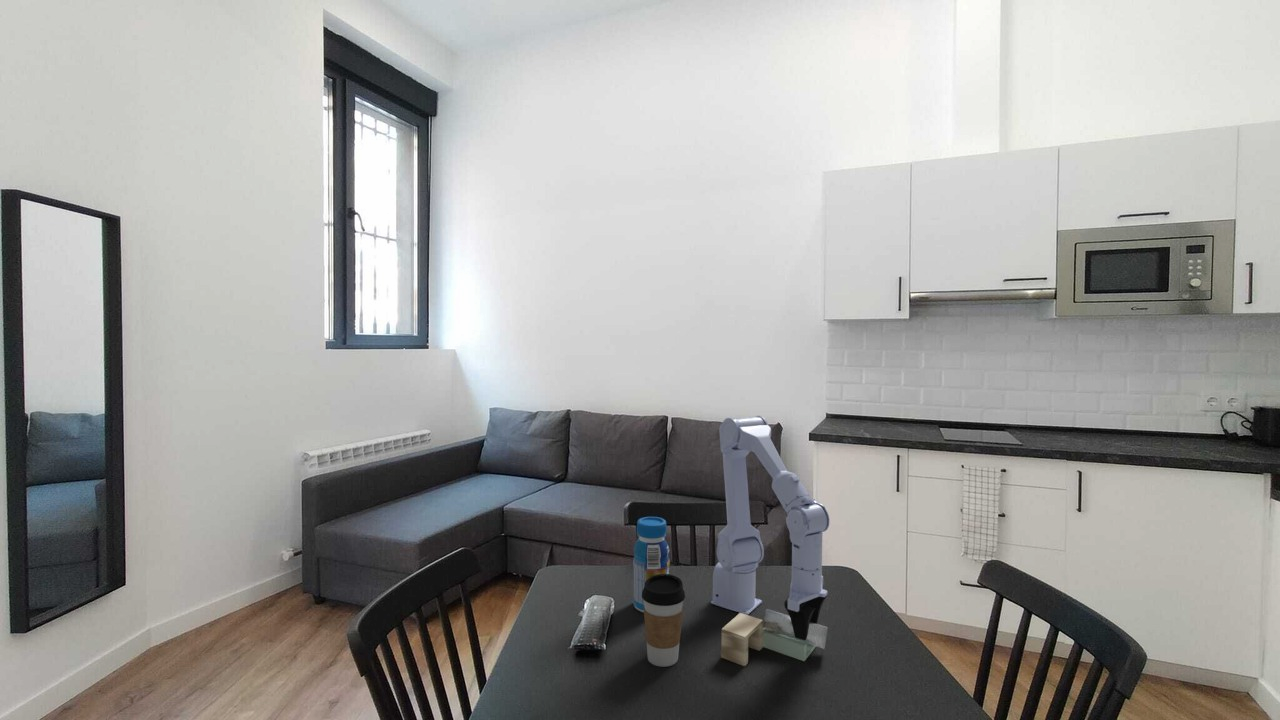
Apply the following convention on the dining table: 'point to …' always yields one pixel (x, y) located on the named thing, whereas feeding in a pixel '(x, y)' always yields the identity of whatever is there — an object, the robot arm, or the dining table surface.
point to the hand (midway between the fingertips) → (805, 632)
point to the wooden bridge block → (741, 638)
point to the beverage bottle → (649, 555)
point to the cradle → (786, 645)
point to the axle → (784, 627)
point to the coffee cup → (663, 618)
